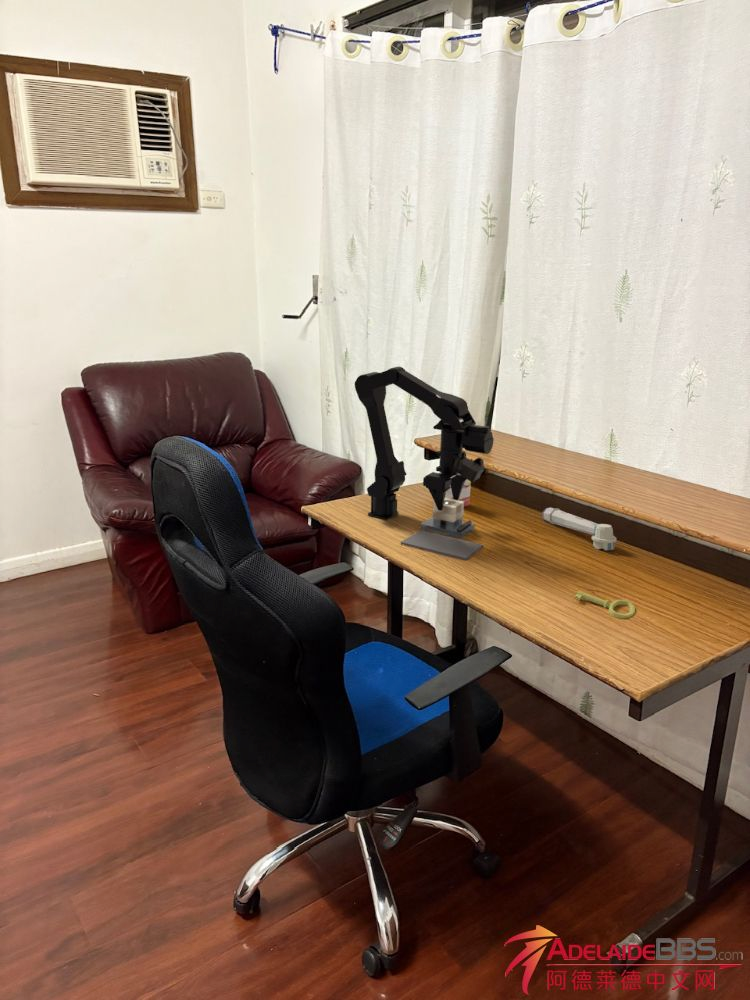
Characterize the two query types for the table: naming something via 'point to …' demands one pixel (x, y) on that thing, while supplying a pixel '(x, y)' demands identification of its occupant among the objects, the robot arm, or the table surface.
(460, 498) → the ink cartridge box
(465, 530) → the vise
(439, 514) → the collar
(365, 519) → the table surface
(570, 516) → the grey pipe fitting
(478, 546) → the charcoal mat
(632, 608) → the key
